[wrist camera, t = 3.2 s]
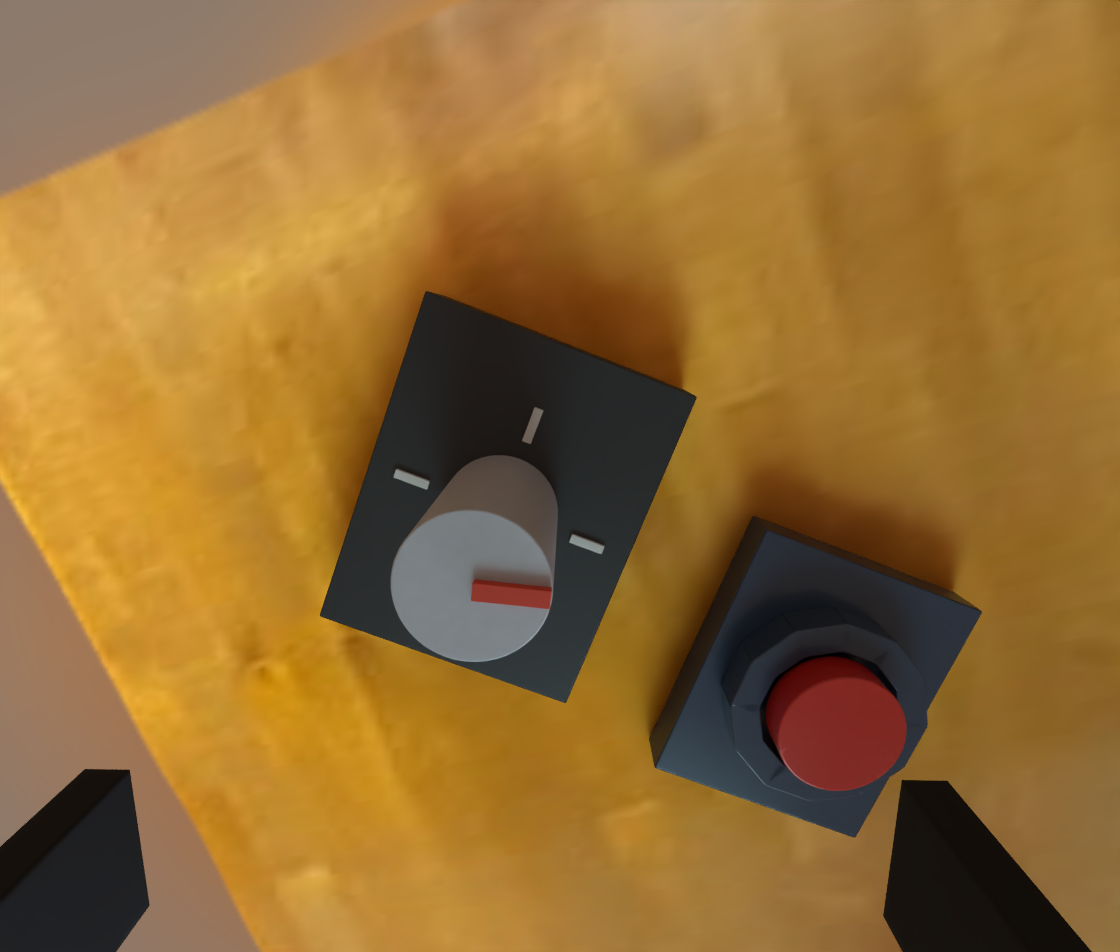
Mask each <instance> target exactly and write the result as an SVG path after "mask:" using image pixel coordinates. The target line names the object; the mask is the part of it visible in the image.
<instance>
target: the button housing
mask: <svg viewBox="0 0 1120 952" xmlns="http://www.w3.org/2000/svg"><path fill="white" fill-rule="evenodd" d="M981 613H982V611H981V610H979V609H978V608H977V607H975V606H974V605H972V604H971V603H969V602H968V601H966V600H965V599H963V598H962V597H961V596H959V595H958V594H956V593H955V592H953V591H950V590H948V589H945V588H942V587H940V586H937V585H935V584H932V583H929V582H927V581H924V580H921V579H919V578H916V577H914V576H911V575H908V574H906V573H903V572H900V571H898V570H895V569H893V568H890V567H887V566H885V565H882V564H879V563H877V562H874V561H872V560H869V559H866V558H864V557H861V556H858V555H856V554H853V553H851V552H848V551H845V550H843V549H840V548H837V547H835V546H832V545H829V544H827V543H824V542H822V541H819V540H816V539H814V538H811V537H808V536H806V535H803V534H801V533H798V532H795V531H793V530H790V529H787V528H785V527H782V526H780V525H777V524H774V523H772V522H769V521H766V520H764V519H761V518H759V517H756V516H753V517H752V519H751V521H750V523H749V525H748V527H747V529H746V532H745V534H744V536H743V538H742V540H741V542H740V544H739V547H738V549H737V551H736V553H735V555H734V557H733V560H732V562H731V564H730V566H729V568H728V570H727V572H726V575H725V577H724V579H723V581H722V583H721V585H720V588H719V590H718V592H717V594H716V596H715V598H714V600H713V603H712V605H711V607H710V609H709V611H708V613H707V615H706V618H705V620H704V622H703V624H702V626H701V628H700V631H699V633H698V635H697V637H696V639H695V641H694V643H693V646H692V648H691V650H690V652H689V654H688V656H687V658H686V661H685V663H684V665H683V667H682V669H681V671H680V674H679V676H678V678H677V680H676V682H675V684H674V686H673V689H672V691H671V693H670V695H669V697H668V699H667V702H666V704H665V706H664V708H663V710H662V712H661V714H660V717H659V719H658V721H657V723H656V725H655V727H654V729H653V732H652V734H651V736H650V738H649V741H650V746H651V751H652V756H653V762H654V767H655V768H657V769H660V770H662V771H665V772H668V773H671V774H674V775H677V776H680V777H682V778H685V779H688V780H691V781H694V782H697V783H700V784H702V785H705V786H708V787H711V788H714V789H717V790H720V791H722V792H725V793H728V794H731V795H734V796H737V797H740V798H742V799H745V800H748V801H751V802H754V803H757V804H760V805H762V806H765V807H768V808H771V809H774V810H777V811H780V812H782V813H785V814H788V815H791V816H794V817H797V818H800V819H802V820H805V821H808V822H811V823H814V824H817V825H820V826H822V827H825V828H828V829H831V830H834V831H837V832H840V833H842V834H845V835H848V836H851V837H856V835H857V834H858V832H859V830H860V828H861V827H862V825H863V823H864V821H865V819H866V818H867V816H868V814H869V812H870V811H871V809H872V807H873V805H874V803H875V802H876V800H877V798H878V796H879V795H880V793H881V791H882V789H883V787H884V786H885V784H886V782H887V780H888V779H889V777H890V776H892V775H893V774H895V773H896V772H898V771H900V770H901V769H902V768H904V767H905V765H906V763H907V761H908V760H909V758H910V756H911V754H912V753H913V751H914V749H915V747H916V746H917V744H918V742H919V740H920V739H921V737H922V735H923V733H924V731H925V730H926V728H927V709H928V708H929V706H930V704H931V702H932V700H933V699H934V697H935V695H936V693H937V692H938V690H939V688H940V686H941V684H942V683H943V681H944V679H945V677H946V676H947V674H948V672H949V670H950V668H951V667H952V665H953V663H954V661H955V660H956V658H957V656H958V654H959V652H960V651H961V649H962V647H963V645H964V644H965V642H966V640H967V638H968V636H969V635H970V633H971V631H972V629H973V628H974V626H975V624H976V622H977V620H978V619H979V617H980V615H981ZM826 656H835V657H843V658H848V659H851V660H854V661H856V662H859V663H861V664H862V665H864V666H866V667H867V668H868V669H870V670H871V671H872V672H873V673H874V674H875V675H876V676H877V677H878V678H879V680H880V681H881V682H882V683H883V684H884V685H885V686H886V687H887V689H888V690H889V691H890V692H891V693H892V694H893V695H894V697H895V698H896V699H897V700H898V702H899V703H900V705H901V707H902V709H903V712H904V715H905V719H906V726H907V731H906V740H905V744H904V747H903V750H902V752H901V754H900V756H899V758H898V759H897V761H896V762H895V764H894V765H893V766H892V767H891V768H890V769H889V770H888V771H887V772H886V773H885V774H884V775H882V776H881V777H880V778H878V779H877V780H875V781H873V782H872V783H870V784H867V785H865V786H863V787H859V788H856V789H851V790H845V791H829V790H823V789H819V788H816V787H813V786H811V785H808V784H806V783H805V782H803V781H801V780H800V779H798V778H797V777H796V776H795V775H793V774H792V773H791V772H790V770H789V769H788V768H787V767H786V765H785V764H784V762H783V760H782V758H781V756H780V754H779V752H778V750H777V748H776V746H775V744H774V742H773V740H772V738H771V736H770V734H769V731H768V728H767V723H766V706H767V702H768V698H769V696H770V693H771V691H772V689H773V688H774V686H775V684H776V683H777V682H778V681H779V679H780V678H781V677H782V676H783V675H784V674H785V673H786V672H788V671H789V670H790V669H792V668H793V667H795V666H796V665H798V664H800V663H802V662H805V661H807V660H810V659H813V658H818V657H826Z"/></svg>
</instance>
